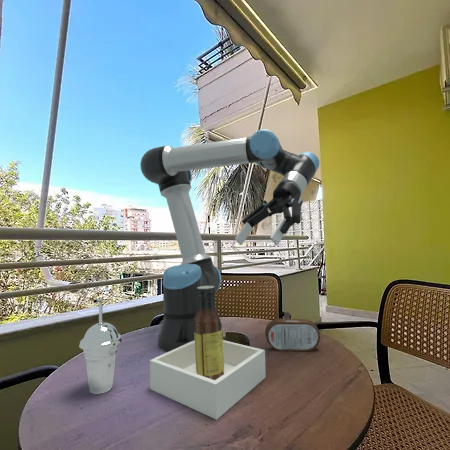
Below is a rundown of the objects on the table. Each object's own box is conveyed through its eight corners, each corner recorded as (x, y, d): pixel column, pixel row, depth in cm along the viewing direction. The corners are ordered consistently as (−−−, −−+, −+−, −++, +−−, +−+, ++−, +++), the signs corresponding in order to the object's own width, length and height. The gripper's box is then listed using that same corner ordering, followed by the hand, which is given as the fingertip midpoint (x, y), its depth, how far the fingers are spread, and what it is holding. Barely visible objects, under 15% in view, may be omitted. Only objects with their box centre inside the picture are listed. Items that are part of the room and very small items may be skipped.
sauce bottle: (228, 374, 63) (227, 285, 64) (216, 387, 57) (214, 289, 58) (203, 369, 66) (202, 283, 67) (189, 381, 60) (187, 288, 61)
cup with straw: (130, 380, 63) (129, 291, 64) (103, 403, 54) (103, 300, 55) (97, 377, 65) (97, 290, 66) (67, 398, 56) (67, 298, 57)
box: (150, 389, 59) (149, 360, 60) (205, 358, 74) (204, 335, 74) (216, 419, 49) (215, 384, 49) (265, 377, 63) (264, 350, 63)
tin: (319, 348, 79) (318, 318, 79) (322, 352, 76) (320, 321, 76) (265, 347, 80) (264, 317, 81) (266, 352, 77) (265, 321, 78)
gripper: (332, 193, 75) (299, 252, 66) (266, 204, 95) (233, 250, 85) (320, 171, 72) (284, 229, 63) (254, 187, 92) (218, 233, 82)
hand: (254, 241), depth 74 cm, fingers open, 13 cm apart
